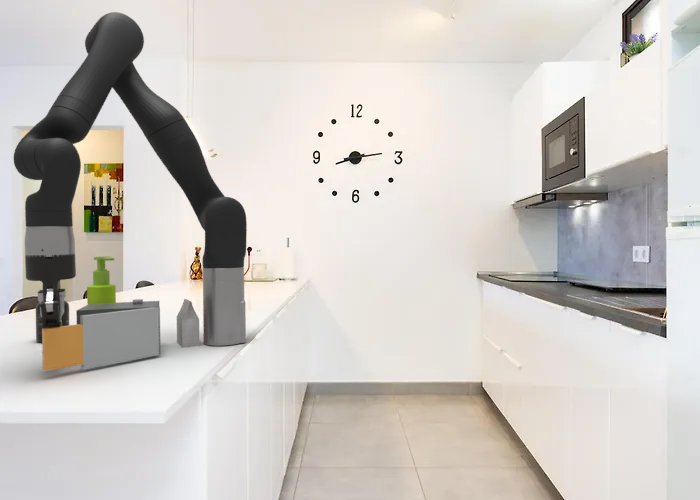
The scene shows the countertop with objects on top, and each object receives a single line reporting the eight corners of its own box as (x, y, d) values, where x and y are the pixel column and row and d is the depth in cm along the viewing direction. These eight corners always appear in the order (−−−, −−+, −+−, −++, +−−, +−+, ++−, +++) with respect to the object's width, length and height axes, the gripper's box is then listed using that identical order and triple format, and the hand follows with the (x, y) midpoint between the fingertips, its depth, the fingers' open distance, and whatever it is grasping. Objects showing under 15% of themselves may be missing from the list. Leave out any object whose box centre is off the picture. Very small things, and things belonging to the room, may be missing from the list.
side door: (158, 353, 96) (158, 306, 96) (161, 354, 95) (161, 307, 95) (42, 375, 80) (41, 319, 80) (45, 376, 80) (44, 320, 79)
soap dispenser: (99, 345, 106) (98, 257, 106) (82, 342, 110) (81, 256, 110) (124, 341, 111) (122, 256, 111) (107, 338, 115) (106, 256, 115)
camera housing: (160, 343, 108) (159, 296, 108) (154, 356, 96) (154, 303, 96) (92, 348, 104) (91, 299, 104) (77, 361, 92) (76, 306, 92)
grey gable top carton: (182, 347, 104) (181, 302, 104) (177, 342, 110) (176, 299, 109) (199, 345, 106) (198, 301, 105) (193, 340, 111) (192, 298, 111)
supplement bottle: (75, 339, 114) (74, 289, 114) (44, 344, 108) (43, 292, 108) (60, 336, 118) (59, 288, 117) (30, 341, 112) (29, 291, 112)
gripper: (29, 252, 88) (33, 344, 88) (19, 254, 76) (23, 361, 77) (76, 251, 91) (79, 340, 92) (73, 253, 80) (76, 354, 80)
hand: (53, 349), depth 84 cm, fingers closed
